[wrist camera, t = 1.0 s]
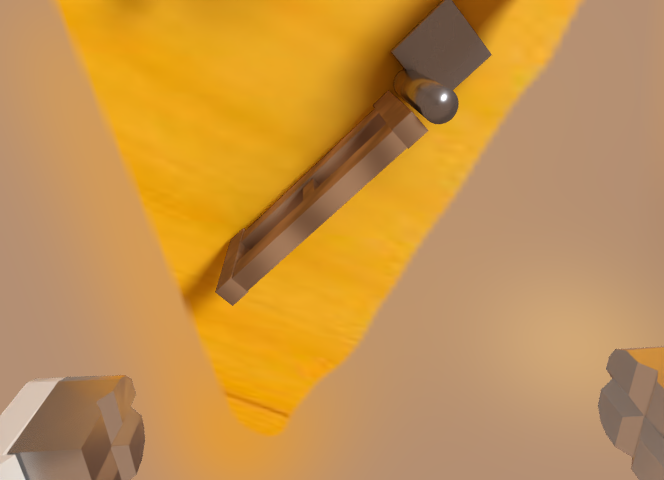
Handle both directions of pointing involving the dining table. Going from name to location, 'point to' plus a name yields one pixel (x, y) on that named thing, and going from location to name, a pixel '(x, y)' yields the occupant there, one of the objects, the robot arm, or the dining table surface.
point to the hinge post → (437, 62)
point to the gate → (318, 195)
